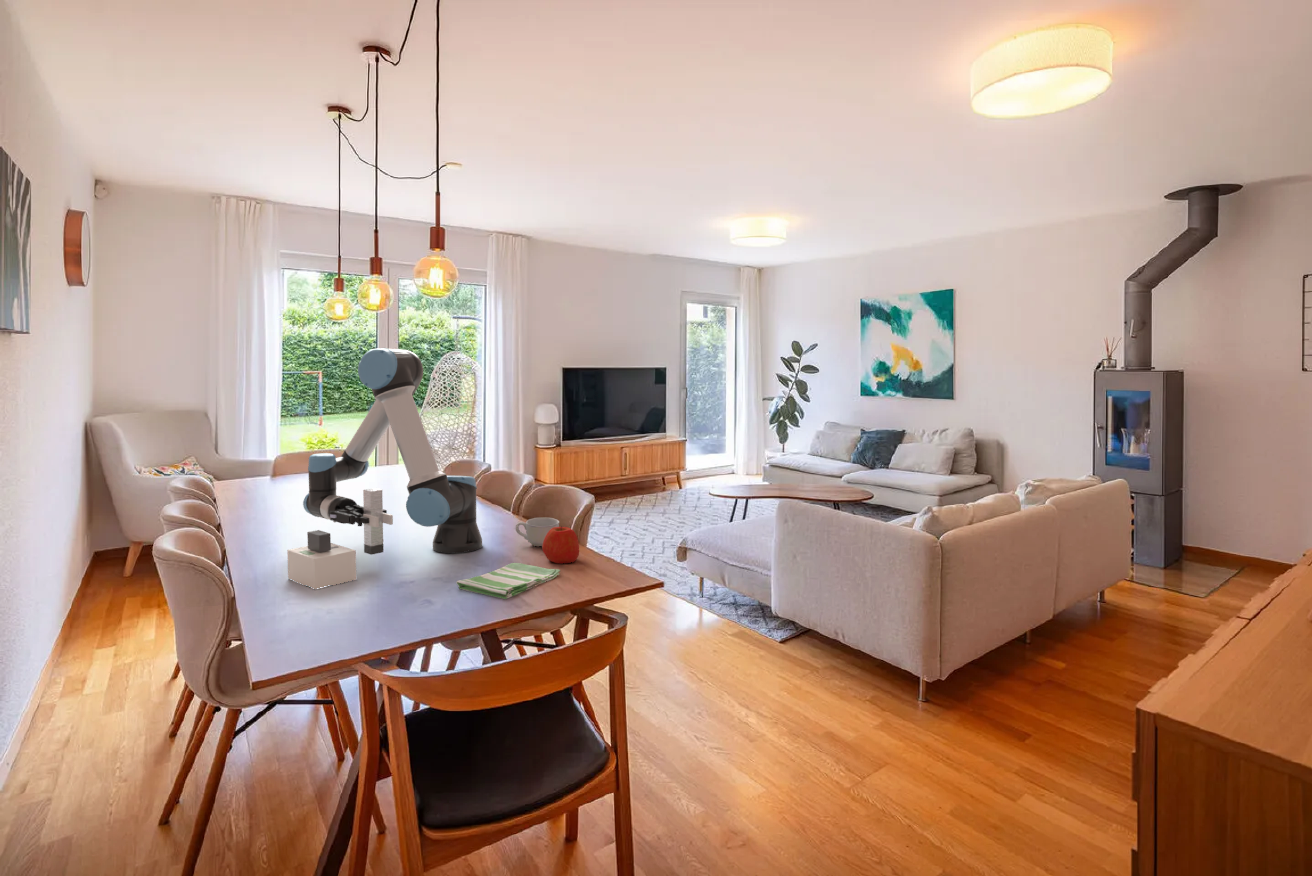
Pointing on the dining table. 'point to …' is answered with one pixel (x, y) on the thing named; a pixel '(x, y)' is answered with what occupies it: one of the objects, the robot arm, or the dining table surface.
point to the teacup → (537, 529)
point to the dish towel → (508, 580)
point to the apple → (561, 545)
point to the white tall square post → (372, 534)
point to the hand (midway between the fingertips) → (384, 521)
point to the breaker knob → (319, 541)
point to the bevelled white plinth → (322, 566)
